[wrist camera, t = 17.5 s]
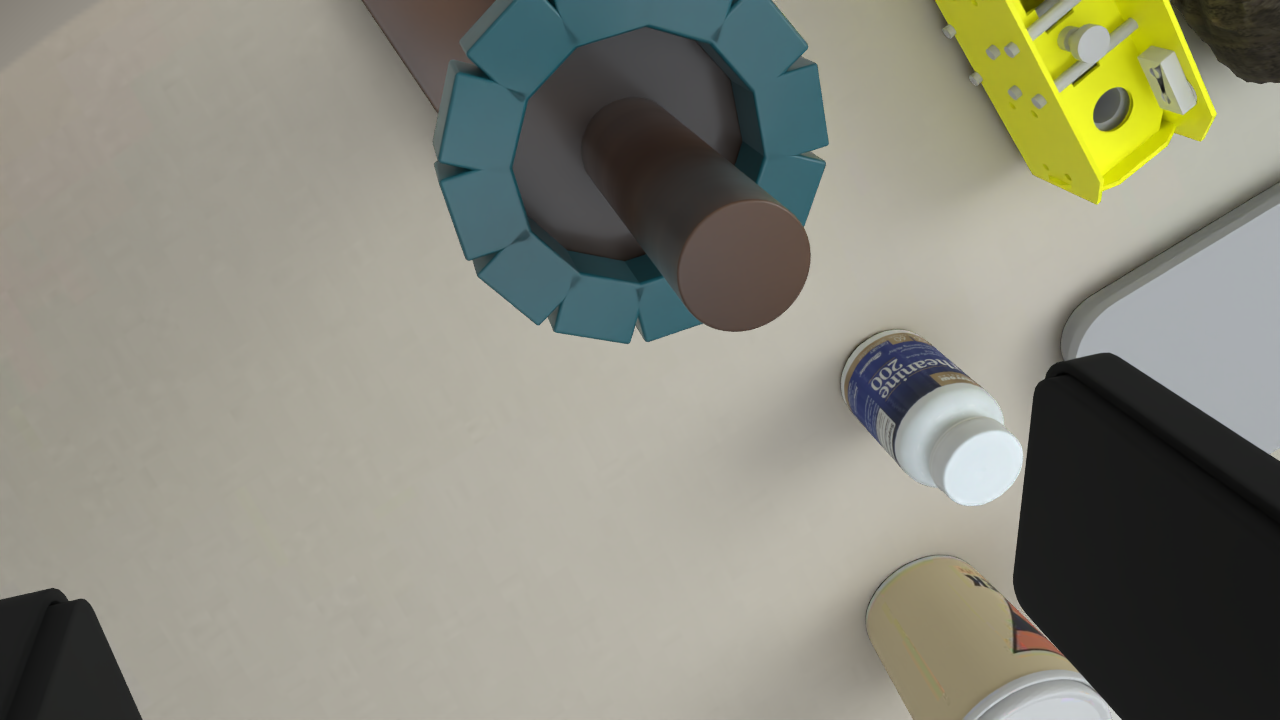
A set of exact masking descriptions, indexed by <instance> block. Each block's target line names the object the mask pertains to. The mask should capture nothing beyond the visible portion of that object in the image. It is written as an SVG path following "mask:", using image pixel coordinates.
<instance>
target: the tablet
mask: <svg viewBox="0 0 1280 720" xmlns="http://www.w3.org/2000/svg"><path fill="white" fill-rule="evenodd" d="M1061 352H1062V356H1063V359H1064V361H1066V360H1071V359H1075V358H1080V357H1084V356H1089V355H1093V354H1098V353H1108V352H1110V353H1112V354H1114V355H1117V356H1119V357H1120V358H1122V359H1123V360H1125V361H1126V362H1128V363H1129V364H1131V365H1132V366H1134V367H1136V368H1137V369H1139V370H1140V371H1142V372H1143V373H1145V374H1146V375H1148V376H1149V377H1151V378H1152V379H1154V380H1156V381H1157V382H1159V383H1160V384H1162V385H1163V386H1165V387H1166V388H1168V389H1169V390H1171V391H1172V392H1174V393H1176V394H1177V395H1179V396H1180V397H1182V398H1183V399H1185V400H1186V401H1188V402H1189V403H1191V404H1192V405H1194V406H1196V407H1197V408H1199V409H1200V410H1202V411H1203V412H1205V413H1206V414H1208V415H1209V416H1211V417H1212V418H1214V419H1216V420H1217V421H1219V422H1220V423H1222V424H1223V425H1225V426H1226V427H1228V428H1229V429H1231V430H1232V431H1234V432H1236V433H1237V434H1239V435H1240V436H1242V437H1243V438H1245V439H1246V440H1248V441H1249V442H1251V443H1252V444H1254V445H1256V446H1257V447H1259V448H1260V449H1262V450H1263V451H1265V452H1266V453H1268V454H1271V453H1272V452H1274V451H1276V450H1277V449H1279V448H1280V182H1279V183H1277V184H1275V185H1274V186H1272V187H1270V188H1269V189H1267V190H1265V191H1264V192H1262V193H1260V194H1259V195H1257V196H1256V197H1254V198H1252V199H1251V200H1249V201H1247V202H1246V203H1244V204H1242V205H1241V206H1239V207H1237V208H1236V209H1234V210H1232V211H1231V212H1229V213H1227V214H1226V215H1224V216H1222V217H1221V218H1219V219H1217V220H1216V221H1214V222H1213V223H1211V224H1209V225H1208V226H1206V227H1204V228H1203V229H1201V230H1199V231H1198V232H1196V233H1194V234H1193V235H1191V236H1189V237H1188V238H1186V239H1184V240H1183V241H1181V242H1179V243H1178V244H1176V245H1174V246H1173V247H1171V248H1170V249H1168V250H1166V251H1165V252H1163V253H1161V254H1160V255H1158V256H1156V257H1155V258H1153V259H1151V260H1150V261H1148V262H1146V263H1145V264H1143V265H1141V266H1140V267H1138V268H1136V269H1135V270H1133V271H1131V272H1130V273H1128V274H1127V275H1125V276H1123V277H1122V278H1120V279H1118V280H1117V281H1115V282H1113V283H1112V284H1110V285H1108V286H1107V287H1105V288H1103V289H1102V290H1100V291H1098V292H1097V293H1095V294H1093V295H1092V296H1090V297H1089V298H1087V299H1086V300H1085V301H1083V302H1082V303H1081V304H1080V305H1079V306H1078V307H1077V308H1076V309H1075V310H1074V312H1073V313H1072V314H1071V316H1070V317H1069V319H1068V321H1067V323H1066V325H1065V327H1064V330H1063V333H1062V337H1061Z"/></svg>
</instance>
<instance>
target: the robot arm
mask: <svg viewBox="0 0 1280 720" xmlns="http://www.w3.org/2000/svg"><path fill="white" fill-rule="evenodd" d="M1013 585H1014V590H1015V594H1016V597H1017V600H1018V602H1019V604H1020V605H1021V607H1022V609H1023V610H1024V611H1025V613H1026V614H1027V615H1028V616H1029V617H1030V619H1031V620H1032V621H1033V622H1034V623H1035V624H1036V625H1037V626H1038V627H1039V629H1040V630H1041V631H1042V632H1043V633H1044V634H1045V635H1046V636H1047V637H1048V638H1049V640H1050V641H1051V642H1052V643H1053V644H1054V645H1055V646H1056V647H1057V648H1058V650H1059V651H1060V652H1061V653H1062V654H1063V655H1064V656H1065V657H1066V658H1067V660H1068V661H1069V662H1070V663H1071V664H1072V665H1073V666H1074V667H1075V668H1076V669H1077V671H1078V672H1079V673H1080V674H1081V675H1082V676H1083V677H1084V678H1085V679H1086V681H1087V682H1088V683H1089V684H1090V685H1091V686H1092V687H1093V688H1094V689H1095V690H1096V692H1097V693H1098V694H1099V695H1100V696H1101V697H1102V698H1103V699H1104V700H1105V702H1106V703H1107V704H1108V705H1109V706H1110V707H1111V708H1112V709H1113V710H1114V711H1115V713H1116V714H1117V715H1118V716H1119V717H1120V718H1121V719H1122V720H1280V461H1279V460H1277V459H1276V458H1274V457H1272V456H1271V455H1269V454H1268V453H1266V452H1265V451H1263V450H1262V449H1260V448H1259V447H1257V446H1256V445H1254V444H1252V443H1251V442H1249V441H1248V440H1246V439H1245V438H1243V437H1242V436H1240V435H1239V434H1237V433H1236V432H1234V431H1232V430H1231V429H1229V428H1228V427H1226V426H1225V425H1223V424H1222V423H1220V422H1219V421H1217V420H1216V419H1214V418H1212V417H1211V416H1209V415H1208V414H1206V413H1205V412H1203V411H1202V410H1200V409H1199V408H1197V407H1196V406H1194V405H1192V404H1191V403H1189V402H1188V401H1186V400H1185V399H1183V398H1182V397H1180V396H1179V395H1177V394H1176V393H1174V392H1172V391H1171V390H1169V389H1168V388H1166V387H1165V386H1163V385H1162V384H1160V383H1159V382H1157V381H1156V380H1154V379H1152V378H1151V377H1149V376H1148V375H1146V374H1145V373H1143V372H1142V371H1140V370H1139V369H1137V368H1136V367H1134V366H1132V365H1131V364H1129V363H1128V362H1126V361H1125V360H1123V359H1122V358H1120V357H1119V356H1117V355H1114V354H1112V353H1110V352H1108V353H1098V354H1093V355H1089V356H1084V357H1080V358H1075V359H1071V360H1066V361H1062V362H1058V363H1056V364H1054V365H1052V366H1051V367H1050V369H1049V370H1048V372H1047V373H1046V377H1045V379H1044V380H1042V381H1040V382H1039V383H1038V385H1037V386H1036V388H1035V392H1034V396H1033V405H1032V414H1031V423H1030V432H1029V441H1028V449H1027V458H1026V467H1025V476H1024V485H1023V494H1022V503H1021V511H1020V520H1019V529H1018V538H1017V547H1016V556H1015V564H1014V573H1013ZM0 720H142V718H141V715H140V713H139V711H138V709H137V706H136V704H135V702H134V700H133V697H132V695H131V693H130V691H129V688H128V686H127V684H126V682H125V679H124V677H123V675H122V673H121V670H120V668H119V666H118V664H117V662H116V659H115V657H114V655H113V653H112V650H111V648H110V646H109V644H108V641H107V639H106V637H105V635H104V632H103V630H102V628H101V626H100V623H99V621H98V619H97V617H96V614H95V612H94V610H93V608H92V607H91V605H90V603H88V602H87V601H86V600H85V599H77V600H73V601H68V599H67V598H66V596H65V595H64V594H63V593H62V592H61V591H60V590H59V589H55V588H51V589H46V590H42V591H37V592H33V593H28V594H24V595H19V596H15V597H11V598H6V599H2V600H0Z"/></svg>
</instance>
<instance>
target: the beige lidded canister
mask: <svg viewBox="0 0 1280 720" xmlns="http://www.w3.org/2000/svg"><path fill="white" fill-rule="evenodd" d="M866 629H867V633H868V636H869V638H870V640H871V642H872V644H873V646H874V648H875V650H876V652H877V654H878V656H879V658H880V660H881V662H882V663H883V665H884V667H885V669H886V671H887V673H888V674H889V676H890V678H891V680H892V682H893V684H894V685H895V687H896V689H897V691H898V693H899V695H900V696H901V698H902V700H903V702H904V704H905V706H906V707H907V709H908V711H909V713H910V715H911V716H912V718H913V720H1112V716H1111V712H1110V710H1109V705H1108V704H1107V703H1106V702H1105V700H1104V699H1103V698H1102V697H1101V696H1100V695H1099V694H1098V693H1097V692H1096V690H1095V689H1094V688H1093V687H1092V686H1091V685H1090V684H1089V683H1088V682H1087V681H1086V679H1085V678H1084V677H1083V676H1082V675H1081V674H1080V673H1079V672H1078V671H1077V669H1076V668H1075V667H1074V666H1073V665H1072V664H1071V663H1070V662H1069V661H1068V660H1067V658H1066V657H1065V656H1064V655H1063V654H1062V653H1061V652H1060V651H1059V650H1058V649H1057V648H1056V647H1055V646H1054V645H1053V644H1052V643H1051V642H1050V641H1049V640H1048V639H1047V638H1046V637H1045V636H1044V635H1043V634H1042V633H1041V632H1039V631H1038V630H1037V629H1036V628H1035V627H1034V626H1033V625H1032V624H1031V623H1030V622H1029V621H1028V620H1027V619H1026V618H1025V617H1024V616H1023V615H1022V614H1021V613H1020V612H1019V611H1018V610H1017V609H1016V608H1015V607H1014V606H1013V605H1012V604H1011V603H1010V602H1009V601H1008V600H1006V599H1005V598H1004V597H1003V596H1002V595H1001V594H1000V593H999V592H998V591H997V590H996V589H995V588H994V587H993V586H992V585H991V584H990V583H989V582H988V581H987V580H986V579H985V578H984V577H983V576H982V575H980V574H979V573H978V572H977V571H976V570H975V569H974V568H973V567H972V566H970V565H969V564H968V563H966V562H965V561H963V560H961V559H959V558H956V557H952V556H944V555H936V556H929V557H925V558H921V559H918V560H916V561H913V562H911V563H909V564H907V565H905V566H903V567H902V568H900V569H899V570H897V571H896V572H894V573H893V574H892V575H891V576H889V577H888V578H887V579H886V580H885V581H884V582H883V583H882V585H881V586H880V587H879V588H878V590H877V591H876V592H875V594H874V596H873V598H872V599H871V601H870V604H869V606H868V610H867V614H866Z"/></svg>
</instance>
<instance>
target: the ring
mask: <svg viewBox="0 0 1280 720" xmlns="http://www.w3.org/2000/svg"><path fill="white" fill-rule="evenodd" d="M643 27H648V28H651V29H655V30H658V31H662V32H666V33H669V34H673V35H677V36H680V37H684V38H688V39H691V40H695V41H697V43H698V44H699V45H700V46H701V47H702V48H703V49H704V50H705V52H706V53H707V54H708V55H709V56H710V57H711V58H712V59H713V61H714V62H715V63H716V64H717V65H718V66H719V67H720V68H721V69H722V71H723V72H724V73H725V74H726V75H727V76H728V77H729V78H730V80H731V84H732V89H733V94H734V100H735V105H736V110H737V115H738V121H739V126H740V131H741V136H742V144H741V147H740V151H739V154H738V157H737V160H736V163H735V167H737V168H738V169H739V170H740V171H741V172H743V173H744V174H745V175H746V176H748V177H749V178H750V179H751V180H753V181H754V182H755V183H756V184H757V185H759V186H760V187H761V188H762V189H764V190H765V191H766V192H767V193H769V194H770V195H771V196H772V197H773V198H775V199H776V200H777V201H778V202H780V203H781V204H782V205H783V206H784V207H786V208H787V209H788V210H789V211H791V212H792V213H793V214H794V215H795V216H796V217H797V219H798V220H799V221H800V222H801V224H802V226H803V227H804V225H805V222H806V220H807V217H808V214H809V211H810V208H811V205H812V203H813V200H814V197H815V194H816V191H817V188H818V186H819V183H820V180H821V177H822V174H823V171H824V169H825V166H826V162H825V161H824V160H822V159H821V158H819V157H818V156H816V155H815V154H813V153H812V152H810V151H812V150H815V149H818V148H821V147H824V146H827V145H828V144H829V141H828V135H827V128H826V121H825V114H824V107H823V100H822V94H821V87H820V80H819V73H818V66H817V64H816V63H814V62H812V61H810V60H808V59H806V58H803V57H801V55H802V54H803V53H804V52H805V51H806V50H807V49H808V45H807V43H806V41H805V40H804V39H803V38H802V37H801V35H800V34H799V33H798V32H797V31H796V29H795V28H794V27H793V26H792V24H791V23H790V22H789V21H788V20H787V18H786V17H785V16H784V15H783V13H782V12H781V11H780V10H779V9H778V7H777V6H776V5H775V4H774V3H773V1H772V0H496V1H495V2H494V3H493V4H492V5H491V6H490V7H489V8H488V10H487V11H486V12H485V13H484V14H483V15H482V16H481V17H480V18H479V19H478V21H477V22H476V23H475V24H474V25H473V26H472V27H471V28H470V29H469V31H468V32H467V33H466V34H465V35H464V36H463V37H462V38H461V39H460V42H459V43H460V45H461V47H462V49H463V50H464V52H465V54H466V56H467V57H468V58H469V59H470V60H471V61H472V62H473V63H474V64H475V65H473V64H469V63H465V62H461V61H457V60H450V62H449V64H448V69H447V74H446V79H445V84H444V89H443V94H442V98H441V103H440V108H439V113H438V118H437V123H436V128H435V133H434V138H433V146H434V149H435V153H436V156H437V159H438V161H436V162H435V163H434V167H435V170H436V174H437V178H438V181H439V185H440V188H441V190H442V193H443V196H444V199H445V202H446V205H447V207H448V210H449V213H450V216H451V219H452V222H453V225H454V227H455V230H456V233H457V236H458V239H459V242H460V245H461V247H462V250H463V253H464V256H465V259H466V260H468V261H470V260H473V264H474V267H475V270H476V273H477V276H478V277H479V278H480V279H481V280H482V281H484V282H485V283H486V284H487V285H488V286H490V287H491V288H492V289H493V290H495V291H496V292H497V293H498V294H499V295H501V296H502V297H503V298H504V299H506V300H507V301H508V302H509V303H511V304H512V305H513V306H514V307H515V308H517V309H518V310H519V311H520V312H522V313H523V314H524V315H525V316H526V317H528V318H529V319H530V320H531V321H533V322H534V323H535V324H536V325H540V324H541V323H542V322H543V321H544V320H545V319H546V318H547V317H548V319H549V322H550V324H551V326H552V329H553V331H554V332H556V333H562V334H568V335H574V336H581V337H587V338H593V339H599V340H606V341H612V342H618V343H624V344H629V343H630V341H631V338H632V335H633V332H634V328H635V325H636V327H637V329H638V330H639V332H640V334H641V335H642V337H643V339H644V340H645V341H646V342H650V341H653V340H656V339H659V338H662V337H665V336H668V335H670V334H673V333H676V332H679V331H682V330H685V329H688V328H691V327H694V326H697V325H700V324H703V323H702V322H700V321H699V320H698V319H696V318H695V317H694V316H693V315H692V314H691V313H690V312H689V311H688V309H687V308H686V307H685V305H684V304H683V302H682V301H681V300H680V298H679V297H678V296H677V294H676V293H675V292H674V290H673V289H672V288H671V286H670V285H669V284H668V282H667V281H666V280H665V278H664V277H663V276H662V274H661V273H660V272H659V270H658V269H657V267H656V266H655V265H654V263H653V262H652V261H651V259H650V258H649V257H648V255H647V254H645V255H642V256H639V257H636V258H633V259H630V260H627V261H621V260H615V259H610V258H605V257H599V256H594V255H589V254H584V253H578V252H573V251H568V250H566V249H565V248H564V247H563V246H562V245H561V244H559V243H558V242H557V241H556V240H555V239H554V238H553V237H552V236H550V235H549V234H548V233H547V232H546V231H545V230H544V229H542V228H541V227H540V226H539V225H538V224H537V223H536V222H535V221H533V220H532V219H531V218H530V217H529V216H528V215H527V213H526V210H525V207H524V204H523V200H522V197H521V194H520V191H519V188H518V184H517V181H516V178H515V175H514V172H513V168H512V167H513V163H514V159H515V154H516V150H517V146H518V142H519V137H520V133H521V129H522V125H523V120H524V116H525V112H526V108H527V103H528V100H529V99H530V98H531V97H532V95H533V94H534V93H535V92H536V91H537V90H538V89H539V88H540V87H541V86H542V85H543V84H544V83H545V81H546V80H547V79H548V78H549V77H550V76H551V75H552V74H553V73H554V72H555V71H556V70H557V69H558V67H559V66H560V65H561V64H562V63H563V62H564V61H565V60H566V59H567V58H568V57H569V56H570V55H571V53H572V52H573V51H574V50H575V49H576V48H577V47H580V46H584V45H587V44H590V43H594V42H597V41H600V40H604V39H607V38H610V37H614V36H617V35H620V34H624V33H627V32H630V31H633V30H637V29H640V28H643Z"/></svg>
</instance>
